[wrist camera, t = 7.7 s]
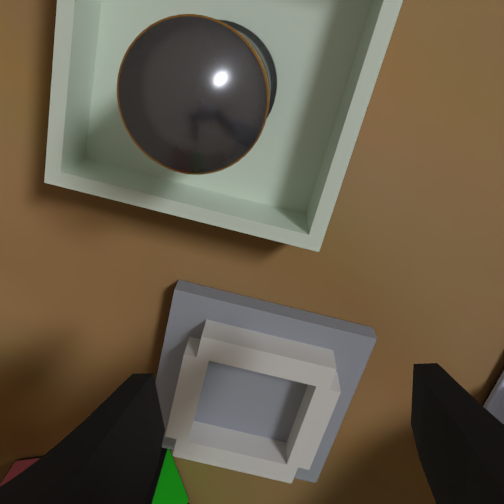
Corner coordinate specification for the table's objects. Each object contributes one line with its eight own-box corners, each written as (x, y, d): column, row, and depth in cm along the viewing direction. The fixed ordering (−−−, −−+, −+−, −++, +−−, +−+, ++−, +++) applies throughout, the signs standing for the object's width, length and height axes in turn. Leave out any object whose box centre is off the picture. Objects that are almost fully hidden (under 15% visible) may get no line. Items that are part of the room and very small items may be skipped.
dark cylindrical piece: (281, 132, 20) (280, 173, 13) (178, 142, 20) (129, 185, 14) (272, 15, 18) (267, -3, 12) (159, 28, 18) (94, 17, 12)
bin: (403, -51, 17) (426, -70, 15) (314, 226, 22) (319, 252, 19) (103, -136, 17) (69, -172, 14) (75, 165, 21) (44, 182, 19)
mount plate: (373, 327, 24) (383, 357, 21) (314, 468, 28) (318, 506, 25) (178, 279, 23) (167, 304, 21) (147, 429, 27) (135, 464, 25)
